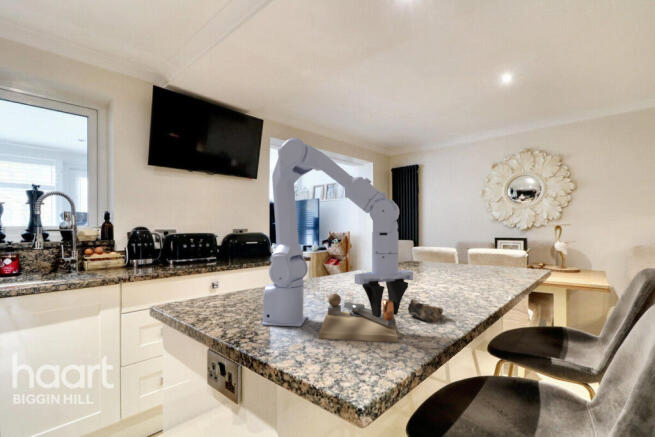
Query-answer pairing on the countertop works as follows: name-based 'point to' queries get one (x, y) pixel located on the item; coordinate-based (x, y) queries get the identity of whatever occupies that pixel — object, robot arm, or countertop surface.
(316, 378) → the countertop surface
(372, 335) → the base
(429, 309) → the rock
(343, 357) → the countertop surface
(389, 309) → the lever
